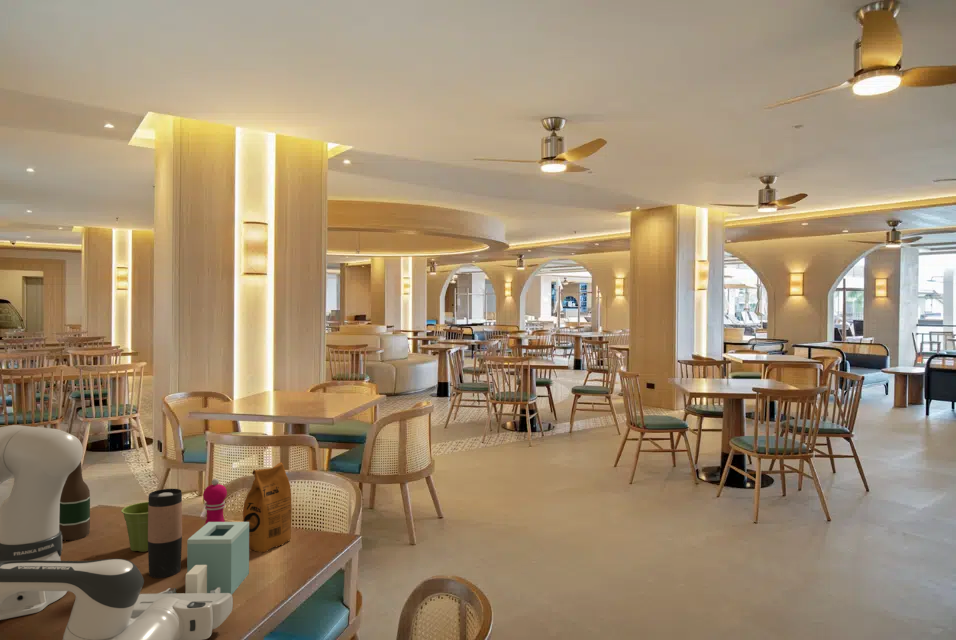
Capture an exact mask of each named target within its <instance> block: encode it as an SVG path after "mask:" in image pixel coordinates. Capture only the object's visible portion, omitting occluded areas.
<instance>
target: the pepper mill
mask: <svg viewBox="0 0 956 640" xmlns="http://www.w3.org/2000/svg"><path fill="white" fill-rule="evenodd" d="M227 496H228V491H227V488H226V486H224V484H223V485H222V484H220V483H219V479H217V478H213V479H212V480H211V484H210V485H208V486H206V487H205V489H204V490H203V493H202V498H203V500H204V501H205V504H204V509H205V510H206V518H205V519H206V520H205V522H204V525H206V524H207V523H208V522H226V521H225V518H224V508H225V506H226V502H225V500H226V498H227Z"/></svg>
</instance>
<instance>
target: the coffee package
mask: <svg viewBox="0 0 956 640" xmlns="http://www.w3.org/2000/svg"><path fill="white" fill-rule="evenodd" d="M251 474H252V475H253V476H254V480H253V482H252V484H251V488H250V490H249V491H248V493H247V495H246V497H245V500H244V504H243V509H242V522H249V550H251V551H255V552H257V553H258V552H259V553H265V552H266V553H267V551H269V550H271V549H273V548H277V547H276V546H279V547H281V546H280V545H282V544H283V545H285V544H286V543H287V542H289V541H291V540H290V539H292V517H293V516H292V515H293V514H292V513H293V512H292V510H293V509H292V507H293V506H292V490H291V489H292V488H291V482H290V480H289V477H288V475H287V472H286V469H285V466H284V464H283V463H282V462H278V463H276V465H274V466H273V467H272V468H271V467H270V468H264V469H262V468H261V469H259V468H258V469H253V470H252V472H251ZM285 542H286V543H285ZM284 543H285V544H284ZM283 545H282V546H283Z"/></svg>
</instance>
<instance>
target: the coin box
mask: <svg viewBox="0 0 956 640" xmlns="http://www.w3.org/2000/svg"><path fill="white" fill-rule="evenodd" d="M186 541H187V542H186V543H187V547H186V549H187V550H186V552H187V553H186V555H187V557H186V558H187V561H186V562H187V563H186V564H187V565H186V566H187V573H188V572H189V571H190V570H191V569H192V568H193V567H194V566H195V565H207V593H210V590H211V589H212V588H220V593H230V594H231V595H232V596H233V594H234V593H235V591H237V589H238V588H239V587H240V585H241V584H242V583H243V581H244V580H245V579H246V578H247V576H248V575H249V574H250V549H249V522H243V521H225V522H208V523H207V524H206V525H205V524H204V525H203V526H201V528H200V529H198V530H196V532H195V533H194V534H192V535H191V536H190V537H188V539H187V540H186ZM187 573H186V574H187Z"/></svg>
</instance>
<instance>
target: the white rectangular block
mask: <svg viewBox="0 0 956 640" xmlns="http://www.w3.org/2000/svg"><path fill="white" fill-rule="evenodd" d="M185 593H207V565H195V566H194V567H193V568H192V569H191V570H190V571H189V572H188V573H186V574H185Z"/></svg>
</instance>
